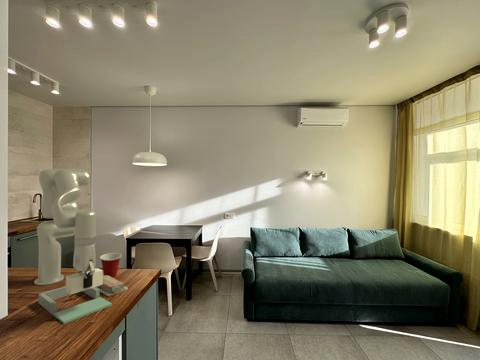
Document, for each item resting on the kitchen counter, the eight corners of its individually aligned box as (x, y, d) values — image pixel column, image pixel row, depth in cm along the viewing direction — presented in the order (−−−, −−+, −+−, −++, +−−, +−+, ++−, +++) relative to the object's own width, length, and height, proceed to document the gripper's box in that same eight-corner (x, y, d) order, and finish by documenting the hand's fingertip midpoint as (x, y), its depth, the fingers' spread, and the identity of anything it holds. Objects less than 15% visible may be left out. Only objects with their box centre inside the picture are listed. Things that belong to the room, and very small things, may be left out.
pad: (53, 315, 100) (53, 313, 100) (100, 298, 114) (100, 297, 114) (63, 323, 94) (63, 321, 94) (111, 305, 109) (111, 303, 109)
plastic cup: (101, 282, 133) (101, 259, 133) (97, 276, 141) (98, 254, 141) (123, 278, 139) (124, 256, 139) (118, 272, 148) (119, 251, 148)
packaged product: (128, 280, 124) (107, 287, 116) (128, 290, 124) (107, 298, 116) (110, 272, 135) (90, 278, 127) (110, 281, 135) (90, 287, 127)
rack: (38, 303, 109) (38, 293, 110) (83, 289, 124) (83, 281, 124) (52, 314, 100) (52, 304, 100) (99, 298, 115) (99, 289, 115)
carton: (65, 291, 101) (65, 275, 101) (96, 281, 111) (97, 268, 111) (71, 294, 98) (71, 278, 98) (102, 284, 108) (102, 270, 108)
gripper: (66, 240, 106) (65, 283, 106) (85, 246, 96) (84, 294, 96) (85, 237, 112) (84, 278, 112) (105, 242, 103) (104, 287, 102)
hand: (84, 285), depth 104 cm, fingers closed on carton, 5 cm apart
